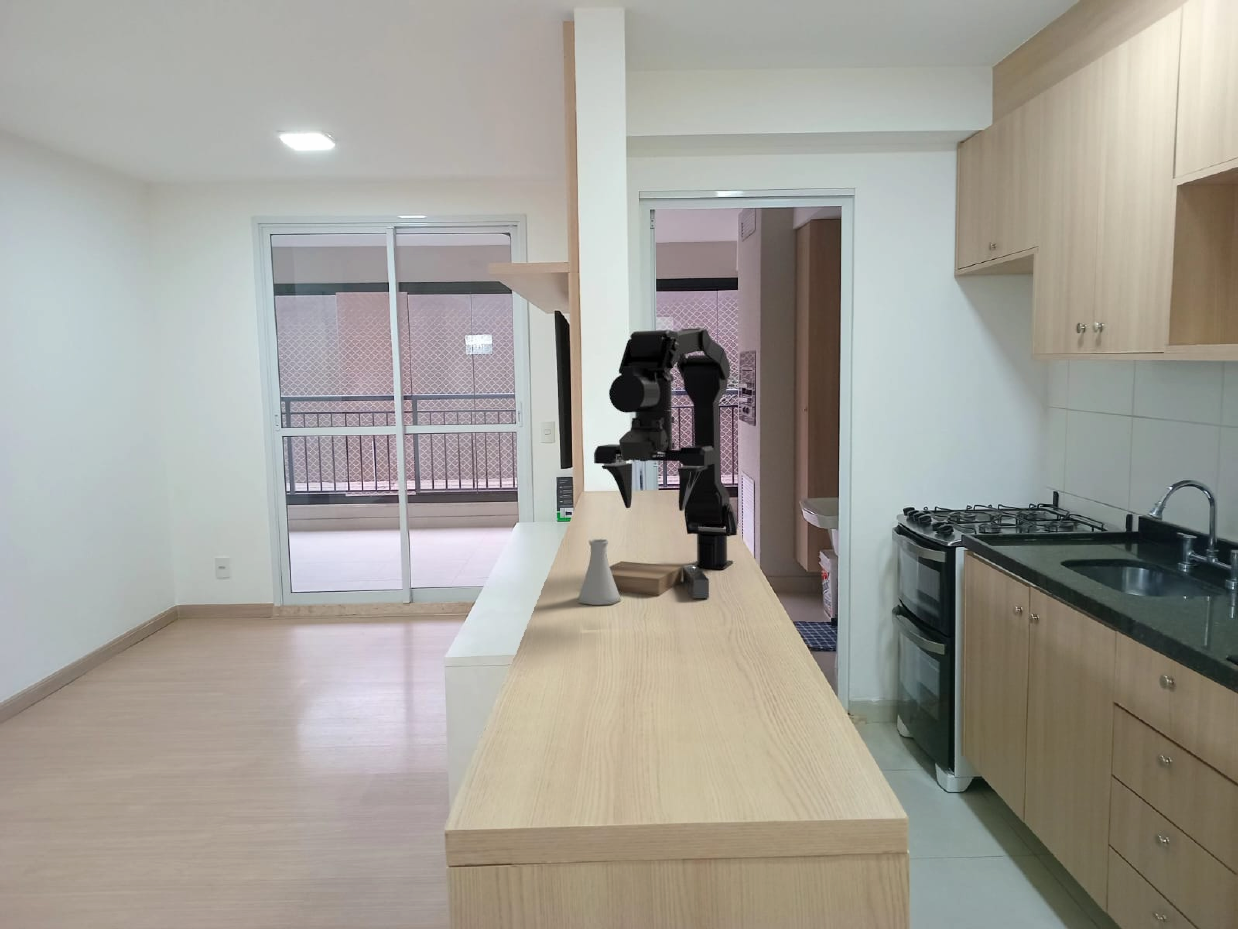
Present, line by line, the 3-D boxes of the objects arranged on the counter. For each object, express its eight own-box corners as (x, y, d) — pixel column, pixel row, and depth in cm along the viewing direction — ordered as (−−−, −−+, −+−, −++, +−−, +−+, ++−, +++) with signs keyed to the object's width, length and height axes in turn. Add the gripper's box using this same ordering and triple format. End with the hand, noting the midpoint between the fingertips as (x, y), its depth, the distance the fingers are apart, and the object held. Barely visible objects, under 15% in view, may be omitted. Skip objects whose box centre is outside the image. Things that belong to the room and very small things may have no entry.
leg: (682, 581, 152) (681, 565, 151) (695, 581, 152) (695, 564, 152) (693, 598, 140) (693, 580, 139) (708, 598, 140) (708, 579, 140)
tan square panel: (621, 577, 157) (621, 561, 157) (682, 583, 152) (682, 566, 151) (594, 590, 147) (593, 573, 147) (658, 596, 142) (658, 579, 142)
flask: (616, 607, 136) (615, 545, 135) (572, 605, 137) (571, 544, 136) (625, 596, 143) (624, 537, 142) (583, 595, 144) (582, 536, 143)
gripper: (576, 412, 132) (578, 513, 133) (691, 412, 124) (691, 519, 125) (608, 410, 142) (610, 504, 143) (716, 410, 134) (716, 509, 135)
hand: (654, 509), depth 136 cm, fingers open, 9 cm apart
